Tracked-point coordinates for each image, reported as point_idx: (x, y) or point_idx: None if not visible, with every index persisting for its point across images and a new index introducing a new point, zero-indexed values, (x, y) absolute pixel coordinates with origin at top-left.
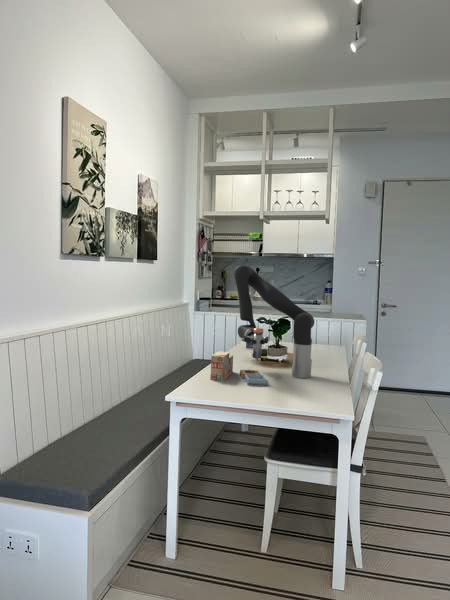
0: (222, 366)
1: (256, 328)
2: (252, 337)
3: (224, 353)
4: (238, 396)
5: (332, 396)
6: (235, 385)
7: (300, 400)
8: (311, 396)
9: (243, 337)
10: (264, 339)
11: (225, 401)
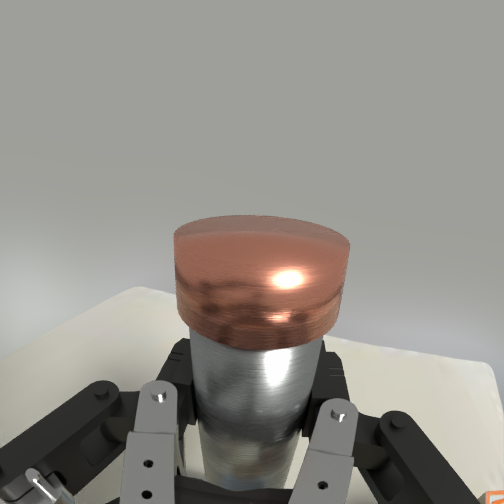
0: None
1: (296, 245)
2: (323, 448)
3: None
4: (345, 379)
5: (60, 349)
6: (353, 493)
7: (169, 344)
8: (112, 361)
9: (461, 499)
10: (141, 396)
11: (375, 348)
